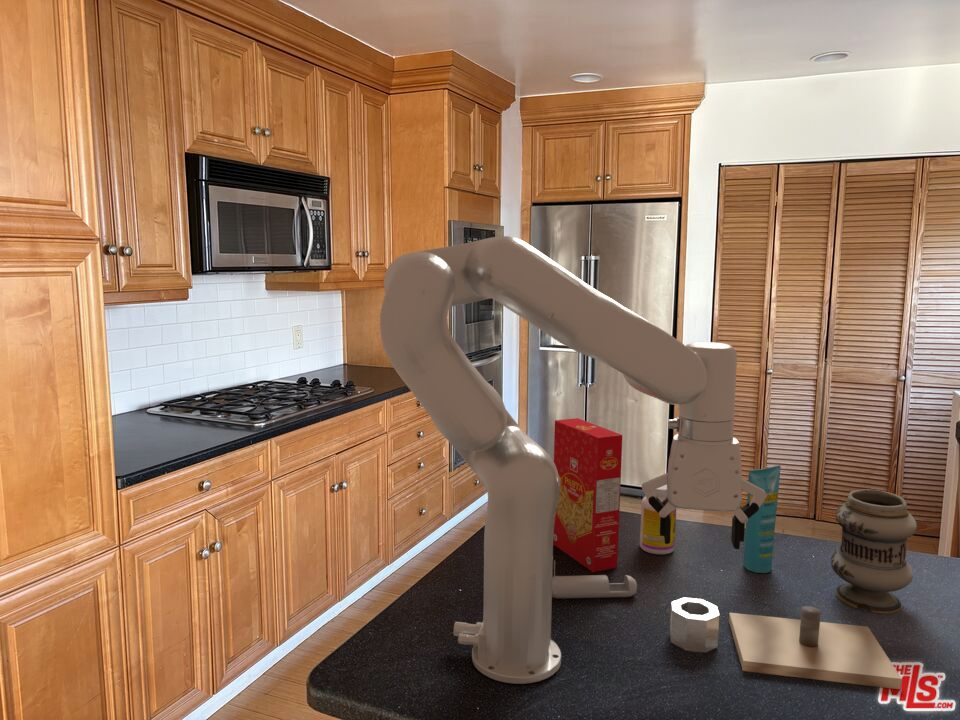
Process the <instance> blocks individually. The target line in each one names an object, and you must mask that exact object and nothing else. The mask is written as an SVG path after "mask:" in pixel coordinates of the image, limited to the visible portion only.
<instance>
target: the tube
mask: <svg viewBox="0 0 960 720" xmlns="http://www.w3.org/2000/svg"><path fill="white" fill-rule="evenodd" d="M780 476H781V464H780V465H774V466H770V467H765V468H759V469H750V470H749V471H748V480H747V481H748V482H750V483H752V484H754V485H756V486H758V487H759V488H761V489H763V490H765V492H766V494H767V497H766V499H765V500H764V502H763V503H762V505H761V506H760V507H759V510H758V511H757V512H756V513H755V514H754V515H752V516H751V517H750V518H749V519H748V521H747V522H746V523H745V531H744V547H743V551H744V552H743V567H744V568H745V569H746V570H747V571H750V572H753V573H761V574H767V573H770V572H771V571H772V567H773V557H774V556H773V555H774V542H775V541H774V540H775V531H776V519H777V511H778V510H777V509H778V500H779V499H778V498H779V488H780ZM752 498H753V495H752V494H750V493H748V492H747V501H746V504H747V503H748V502H750V501H751V500H752Z"/></svg>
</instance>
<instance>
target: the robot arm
mask: <svg viewBox="0 0 960 720" xmlns="http://www.w3.org/2000/svg"><path fill="white" fill-rule="evenodd" d="M383 276H384V277H383V290H384V297H383V300H382V304H381V309H380V312H379V314H380V315H379V330H380V338H381V344H382V346H383V350H384V352H385V355H386V357H387V359H388V361H389V363H390V365H391V366H392V367H393V369H394V371H395V372H396V373H397V374H398V376H399V377H400V379H401V380H402V381H403V382H404V384H405V385H406V386H407V388H408V389H409V390H410V391H411V393H412V394H413V397H415V399H416V400H417V401H418V403H420V405H421V406H422V407H423V409H424V410H425V411H426V412H427V414H428V415H429V417H430V420H431V421H432V423H433V425H434V426H435V427H436V428H437V430H438V431H439V434H441V436H442V437H443V438H444V439H445V440H447V441H448V442H449V443H450V445H452V447H453V448H454V449H455V451H456V452H457V453H458V455H460V456H461V458H462V459H463V461H464V462H466V464H467V465H468V466H469V468H470V469H471V470H472V471H473V472H474V474H475V475H476V476H477V478H478V479H479V480H480V482H481V483H482V485H483V486H484V488H485V490H486V492H487V509H486V515H485V522H484V535H483V538H484V539H483V618H482V622H480V621H476V623H475V624H474V623H468V622H462V621H455V622H454V625H453V636H454V637H455V636H456V637H458V638H457V643H458V644H461V645H472V648H471V649H472V650H471V661H472V663H473V666H474V667H475V668H476V669H477V671H479V672H480V673H481V674H482V675H484V676H486V677H488V678H490V679H492V680H494V681H496V682H497V681H498V682H502V683H506V684H515V685H517V684H519V685H524V684H532V683H537V682H541V681H543V680H545V679H549V678H551V677H552V676H554V674H555V673H557V672H558V670H559V669H560V668H561V664H562V650H561V648H560V647H559V646H558V644H557V643H556V642H555V641H554V640H552V605H553V603H552V600H553V597H552V577H553V570H554V544H553V534H554V522H555V514H556V509H557V504H558V498H559V489H560V481H559V475H558V471H557V468H556V465H555V463H554V459H553V458H552V457H551V455H550V454H549V453H548V452H547V451H546V450H545V448H543V447H542V446H541V445H539V443H537V441H535V440H533V439H532V437H530V436H529V435H528V434H527V433H525V431H524V430H523V429H522V428H521V427H520V426H519V424H518V423H517V422H516V420H515V419H514V418H513V416H512V415H511V414H510V413H509V411H508V410H507V409H506V406H505V403H504V401H503V398H502V397H501V395H500V394H499V392H497V390H496V389H495V388H494V387H493V385H491V384H490V383H489V382H487V380H486V379H485V378H484V377H483V375H482V374H481V373H480V372H479V371H478V370H477V368H476V367H475V365H474V364H473V363H472V362H471V360H470V359H469V358H468V357H467V355H466V354H465V353H464V351H463V350H462V348H461V346H459V345H460V344H458V343H457V342H456V340H455V339H454V337H453V335H452V334H451V331H450V328H449V323H448V315H449V310H450V307H451V308H452V307H456V306H461V305H465V304H466V305H467V304H471V303H475V302H481V301H484V300H488V299H489V300H490V299H492V300H494V301H495V302H497V303H499V304H500V305H502V306H503V307H504V308H505V309H507V310H509V311H511V312H512V313H514V314H516V315H517V316H519V317H520V318H522V319H524V320H525V321H526V322H528V323H530V324H531V325H533V326H534V327H535V328H537V329H539V330H541V332H543V333H544V334H546V335H548V336H549V337H551V338H552V339H554V340H555V341H557V342H559V344H562V345H564V346H565V347H567V348H570V350H573V351H575V352H577V353H579V354H581V355H584V356H587V357H590V358H592V359H594V360H596V361H599V362H601V363H603V364H605V365H607V366H609V367H610V368H612V369H614V370H615V371H618V372H620V373H621V374H622V375H623V378H624V380H625V381H626V382H627V384H628V385H629V386H630V387H631V388H633V390H636V391H638V392H640V393H642V394H644V395H647V396H650V397H652V398H655V399H657V400H660V401H662V402H664V403H666V404H668V405H674V406H679V407H678V412H679V413H678V416H677V417H676V418H673V419H668V423H667V424H668V425H667V426H668V429H670V430H671V429H672V430H674V431H676V434H674V436H673V438H672V442H671V446H670V452H669V457H668V464H667V472H666V473H663V474H661V475H659V476H657V477H654V478H652V479H650V480H649V479H648V480H647V481H645V482H643V483H641V490H642V492H643V493H644V495H645V496H646V498H647V500H648V502H649V504H650V505H651V506H652V507H653V508H654V509H655V510H656V511H657V512H658V513H659V515H660V536H664V540H665V544H669V543H670V532H671V516H670V512H671V511H672V510H673V509H674V508H675V507H676V509H683V510H697V511H711V512H732V513H733V516H732V518H731V535H730V536H731V537H730V540H731V544H732V546H733V549H735V550H740V546H741V545H740V544H741V542H744V543H745V532H746V522H747V521H748V519H749V518H750V517H751V516H752V515H754V514H755V513H756V512H757V511H758V510H759V507H760V506H761V505H762V503H763V502H764V500H765V499H766V497H767V494H766V492H765V490H763V489H761V488H759V487H758V486H756V485H754V484H752V483H750V482H748V480H746V479H744V478H743V473H742V472H743V470H742V467H743V465H742V454H741V453H742V452H741V446H740V442H739V440H738V439H737V438H736V437H734V430H735V429H734V426H735V423H734V422H735V410H736V408H735V406H736V389H737V388H736V385H737V369H738V368H737V367H738V366H737V365H738V354H737V351H736V349H735V347H734V346H732V345H730V344H728V343H722V342H713V341H700V342H699V341H698V342H690V343H688V344H684V343H683V342H681V341H680V340H678V339H677V338H675V337H674V336H673V335H671V334H670V333H668V332H667V331H665V330H664V329H663V328H661V327H659V326H657V325H655V324H654V323H652V322H651V321H649V320H647V319H645V318H644V317H642V316H641V315H639V314H637V313H635V312H634V311H632V310H631V309H628V308H627V307H625V306H623V304H620V303H619V302H617V301H616V300H614V299H613V298H611V297H609V296H608V295H605V293H602V292H601V291H599V290H597V289H596V288H594V287H593V286H591V285H589V284H588V283H586V282H585V281H583V279H580V278H579V276H576V275H575V274H573V273H572V272H570V271H569V270H568V269H566V268H564V267H563V266H561V265H560V264H558V263H557V262H556V261H554V260H553V259H551V258H550V257H548V256H547V255H546V254H544V253H543V252H541V251H540V250H538V249H537V248H535V247H534V246H533V245H530V244H529V243H528V242H526V241H524V240H522V239H520V238H517V237H515V236H511V235H510V236H509V235H506V236H505V235H503V236H495V237H494V236H492V237H488V238H483V239H478V240H475V241H471V242H466V243H461V244H460V243H459V244H455V245H450V246H449V245H448V246H443V247H438V248H431V249H426V250H418V251H413V252H412V251H411V252H407V253H403V254H401V255H399V256H397V257H396V258H394V260H392V261H391V263H390V264H389V265H388V266H387V269H386V271H385V273H384V275H383ZM664 485H667V497H666V498H665V499H664V500H663V501H662V502H661V501H660V500H659V499H658V498H657V497H656V496H655V494H654V490H655V489H657V488H660V487H662V486H664ZM743 491H745V492H746V493H747V494H748V493H750V494H752V495H753V498H752V500H751V501H750V502H748V503H747V502H746V504H745V505H744V506H743V507H742V498H743V497H742V495H743ZM645 496H644V497H645Z"/></svg>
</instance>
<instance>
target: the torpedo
mask: <svg viewBox="0 0 960 720" xmlns="http://www.w3.org/2000/svg"><path fill="white" fill-rule="evenodd" d="M553 570H554V571H553V576H552V599H553V598H554V599H558V600H559V599H584V598H585V599H592V598H593V599H601V598H602V599H603V598H604V599H605V598H609V599H610V598H630V597H633V596H634V595H636V593H637V590H638V584H637V581H636V579H635V578H634V577H632V576H631V575H627V574H625V575H624V578H623V582H613V583H612V582H611V583H610V581H609V577H608V576H607V575H606V574H599V575H598V574H597V575H596V574H595V575H593V574H592V575H590V574H589V575H556V559H555V560H554V559H553Z"/></svg>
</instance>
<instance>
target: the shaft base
mask: <svg viewBox="0 0 960 720" xmlns="http://www.w3.org/2000/svg"><path fill="white" fill-rule="evenodd" d="M800 611H801V612H800V614H801V615H800V619H795V618H787V617H786V618H785V617H777V616H766V615H758V614H748V613H737V612H729V613H728V614H729V616H728V623H729V627H730V631H731V634H732V637H733V641H734V644H735V648H736V652H737V655H738V660H739V662H740V666H741V670H742V672H749V673H758V674H765V675H767V674H768V675H775V676H784V677H793V678H801V679H811V680H819V681H826V682H834V683H842V684H843V683H844V684H851V685H861V686H870V687H879V688H885V689H894V690H895V689H896V690H901V689H902V682H903V678H902V677H901V675H900V673H899V672H898V671H897V669H896V668H895V666H894V664H893V663H892V662H891V660H890V658H889V657H888V656H887V653H886V652H885V650H884V649H883V647H882V646H881V644H880V643H879V641H878V640H877V638H876V637H875V635H874V633H872V631H871V629H870V628H869V627H868V626H865V625H856V624H846V623H835V622H826V621H821V610H820V609H818V608H816V607H815V606H809V605H806V606H805V605H804V606H802V607H801V609H800Z"/></svg>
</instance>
